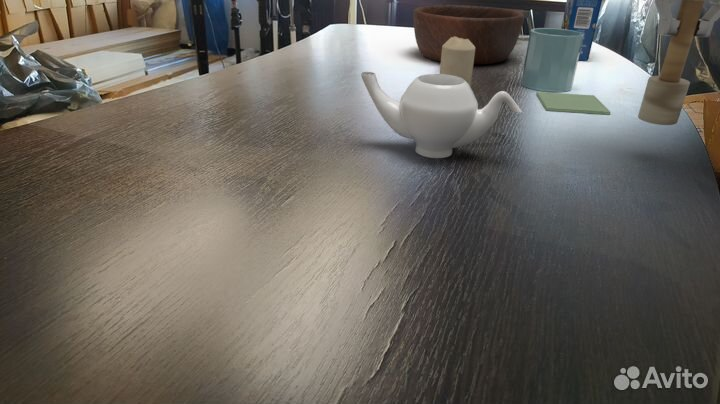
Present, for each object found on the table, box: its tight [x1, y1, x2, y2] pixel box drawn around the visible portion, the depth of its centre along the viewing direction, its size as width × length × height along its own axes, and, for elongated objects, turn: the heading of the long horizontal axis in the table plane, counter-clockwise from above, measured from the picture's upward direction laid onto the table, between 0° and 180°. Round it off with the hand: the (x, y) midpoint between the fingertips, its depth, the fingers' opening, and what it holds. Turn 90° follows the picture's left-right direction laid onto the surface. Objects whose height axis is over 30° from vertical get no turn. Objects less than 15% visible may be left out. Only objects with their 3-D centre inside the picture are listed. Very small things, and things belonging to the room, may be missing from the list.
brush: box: [637, 0, 705, 126], centre depth 59 cm, size 4×4×14 cm
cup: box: [521, 27, 584, 93], centre depth 94 cm, size 9×9×10 cm
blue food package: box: [560, 0, 603, 61], centre depth 118 cm, size 6×12×25 cm, turn 166°
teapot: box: [360, 71, 523, 159], centre depth 62 cm, size 10×20×9 cm, turn 74°
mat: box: [535, 91, 611, 116], centre depth 85 cm, size 10×10×1 cm
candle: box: [439, 36, 475, 88], centre depth 86 cm, size 6×6×10 cm
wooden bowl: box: [412, 4, 525, 66], centre depth 117 cm, size 25×25×10 cm
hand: (682, 35), depth 58 cm, fingers closed on brush, 2 cm apart
